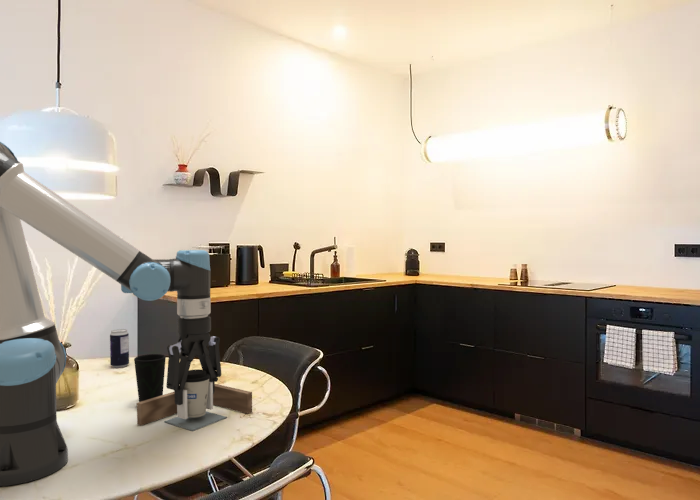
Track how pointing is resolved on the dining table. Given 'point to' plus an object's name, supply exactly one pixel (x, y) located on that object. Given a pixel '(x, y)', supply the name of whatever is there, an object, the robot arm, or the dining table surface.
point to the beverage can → (119, 348)
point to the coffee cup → (197, 392)
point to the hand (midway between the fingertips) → (195, 412)
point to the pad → (196, 421)
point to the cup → (150, 375)
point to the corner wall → (167, 407)
